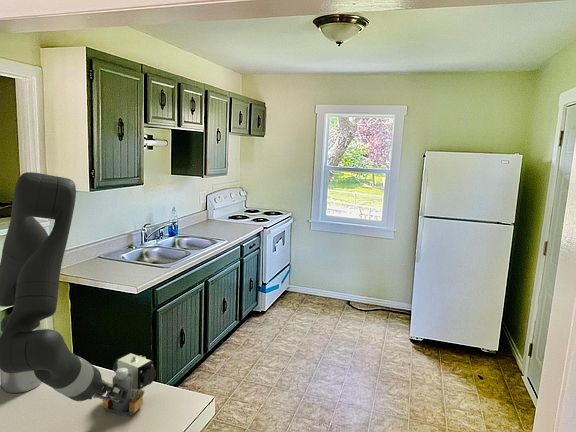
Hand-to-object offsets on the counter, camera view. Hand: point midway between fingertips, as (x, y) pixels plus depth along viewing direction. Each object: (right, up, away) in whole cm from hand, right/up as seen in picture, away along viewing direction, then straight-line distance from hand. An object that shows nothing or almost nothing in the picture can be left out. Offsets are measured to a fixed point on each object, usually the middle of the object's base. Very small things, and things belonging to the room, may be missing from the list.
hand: (107, 397), depth 101 cm
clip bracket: (+1, -7, +8) cm, 10 cm away
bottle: (0, -6, +8) cm, 10 cm away
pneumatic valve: (+2, -6, +14) cm, 15 cm away
